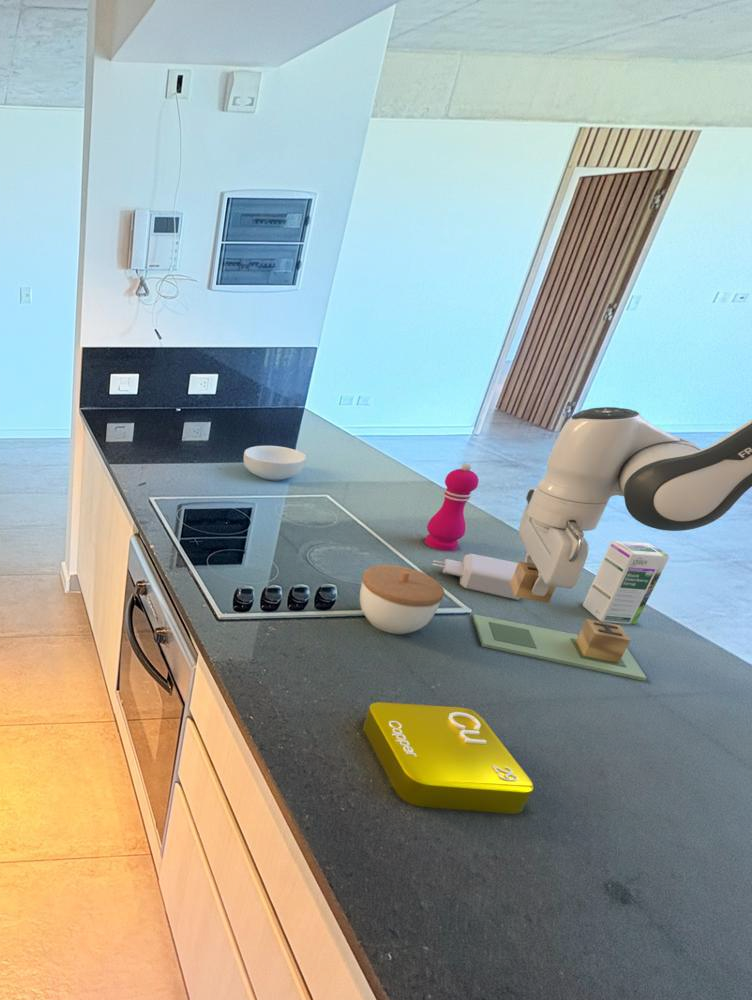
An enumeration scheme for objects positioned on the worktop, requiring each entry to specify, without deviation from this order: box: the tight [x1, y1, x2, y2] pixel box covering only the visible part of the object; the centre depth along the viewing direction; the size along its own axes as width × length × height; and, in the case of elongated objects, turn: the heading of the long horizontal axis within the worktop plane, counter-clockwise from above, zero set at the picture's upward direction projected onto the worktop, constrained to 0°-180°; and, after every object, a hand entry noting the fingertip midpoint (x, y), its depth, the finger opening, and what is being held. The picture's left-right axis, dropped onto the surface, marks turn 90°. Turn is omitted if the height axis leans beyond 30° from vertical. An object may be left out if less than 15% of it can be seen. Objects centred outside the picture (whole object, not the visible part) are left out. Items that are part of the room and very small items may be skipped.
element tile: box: [362, 701, 534, 815], centre depth 82 cm, size 15×15×5 cm
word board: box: [472, 613, 647, 682], centre depth 106 cm, size 22×10×1 cm, turn 65°
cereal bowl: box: [243, 445, 307, 481], centre depth 179 cm, size 17×17×7 cm
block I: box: [510, 561, 557, 604], centre depth 103 cm, size 5×5×5 cm
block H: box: [576, 618, 631, 663], centre depth 102 cm, size 5×5×5 cm
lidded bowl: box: [359, 564, 445, 635], centre depth 110 cm, size 13×13×11 cm
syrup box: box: [582, 540, 670, 625], centre depth 112 cm, size 6×6×14 cm
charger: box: [432, 553, 521, 601], centre depth 125 cm, size 5×9×15 cm
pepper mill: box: [424, 462, 479, 552], centre depth 136 cm, size 7×7×20 cm
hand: (532, 584), depth 103 cm, fingers closed on block I, 4 cm apart
